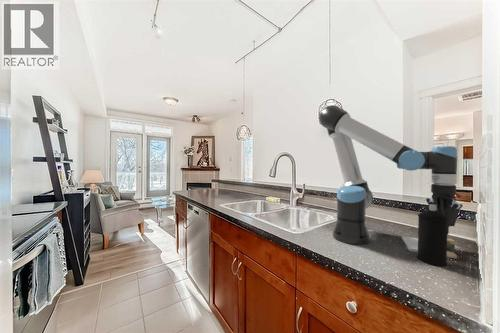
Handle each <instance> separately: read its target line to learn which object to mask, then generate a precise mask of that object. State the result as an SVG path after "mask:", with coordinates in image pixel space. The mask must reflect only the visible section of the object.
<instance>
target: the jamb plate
mask: <svg viewBox="0 0 500 333" xmlns="http://www.w3.org/2000/svg"><path fill="white" fill-rule="evenodd" d="M401 239H402V241H403V242H404V244H405V246H406V248H407V249H408V251H409V252H413V253H418V237H417V238H416V237H410V236H403V235H402V236H401Z"/></svg>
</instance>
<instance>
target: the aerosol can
mask: <svg viewBox="0 0 500 333" xmlns="http://www.w3.org/2000/svg"><path fill="white" fill-rule="evenodd" d="M436 207H437V205H433V204H429V206H428V210H423V211H421V212H419V213H418V214H417V217H418V226H417V228H418V229H417V231H418V232H417V238H418V252H417V255H416V258H417V259H418V260H419V261H421V262H422V263H424V264H428V265H430V266H435V267H436V266H437V267H446V266H448V261H447V260H448V259H447V258H448V257H447V238H448V235H447V222H448V220H449V219H448V218H447V217H446V216H445V215H444V214H442V213H440V212H438V211H436Z"/></svg>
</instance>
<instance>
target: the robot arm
mask: <svg viewBox="0 0 500 333" xmlns="http://www.w3.org/2000/svg"><path fill="white" fill-rule="evenodd" d="M318 121H319V124H320V125H321V126H322V127H323V128H325V129H326V130H327V134H328V137H329V138H331V139H333V140H332V141H333V145H334V147H335V152H336V156H337V160H338V163H339V169H340V172H341V175H342V179H343V183H342V186H340V187H339V188H338V189H337V193H336V199H337V200H336V222H335V224H334V227H333V230H332V237H333V238H334V240H337V241H338V242H339V241H340V242H342V243H345V244H351V245H352V244H353V245H366V244H369V243H370V239H371V238H370V234H369V230H368V227H367V225H366V209H368V208H369V207H371V205H372V204H373V199H374V195H373V193H372V191H371V189H370V188H369V184H368V181H366V180H365V179H364V178H363V176H362V173H361V169H360V165H359V162H358V158H357V155H356V150H355V147H354V143H353V141H352V140H354V141H356V142H357V143H359V144H361V145H363V146H365V147H367V148H368V149H370V150H372V151H373V152H375V153H377V154H379V155H381V156H383V157H384V158H386V159H388V160H389V161H391V162H393V163H395V164H396V168H397V169H399V170H405V171H409V172H411V171H417V170H430V171H431V183H432V184H430V191H431V193H432V195H431V197H430V198H429V197H427V198H425V201H426V202H427V205H428V207H429V204H433V205H437V207H436V211H438V212H440V213H442V214H444V215H445V216H446V217H447V218H448V219H449V220H448V222H447V236H448V235H449V234H450V233H449V230H450V227H455V225H456V222H457V219H458V216H459V213H460V210H461V208H462V207H463V204H462V203H458V202H457V201H456V199H457V198H456V197H455V196H456V195H457V186H456V184H457V179H458V177H457V170H458V148H457V147H456V146H452V145H444V146H433V147H432V148H431V150H430V151H429V150H428V151H418V150H416V149H413V148H411V147H409V146H407V145H406V144H403V143H401V142H399V141H398V140H395V139H394V138H391V137H389V136H388V135H386V134H384V133H382V132H380V131H378V130H376V129H373V128H372V127H370V126H368V125H367V124H363V123H362V122H360V121H358V120H356V119H354V118H352V117H351V115H350V114H349V112H348V111H346V110H345V109H342V108H341V107H339V106H338V105H333V104H332V105H327V106H325V107H324V108H323V109H322V110H320V113H319V120H318Z"/></svg>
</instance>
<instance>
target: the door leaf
mask: <svg viewBox="0 0 500 333" xmlns="http://www.w3.org/2000/svg"><path fill="white" fill-rule="evenodd" d="M455 249H456V244H455V245H454V244H451V243H447V258H451V259H455V260H456V259H458V255H457V254H456V253H455V251H456V250H455Z"/></svg>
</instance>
